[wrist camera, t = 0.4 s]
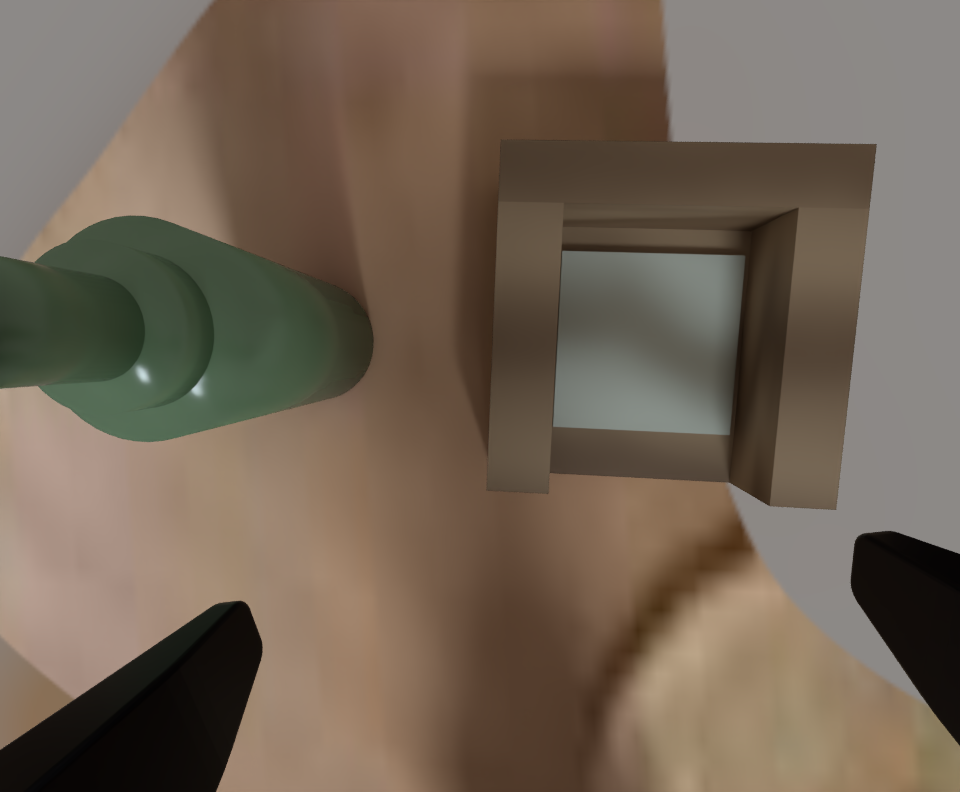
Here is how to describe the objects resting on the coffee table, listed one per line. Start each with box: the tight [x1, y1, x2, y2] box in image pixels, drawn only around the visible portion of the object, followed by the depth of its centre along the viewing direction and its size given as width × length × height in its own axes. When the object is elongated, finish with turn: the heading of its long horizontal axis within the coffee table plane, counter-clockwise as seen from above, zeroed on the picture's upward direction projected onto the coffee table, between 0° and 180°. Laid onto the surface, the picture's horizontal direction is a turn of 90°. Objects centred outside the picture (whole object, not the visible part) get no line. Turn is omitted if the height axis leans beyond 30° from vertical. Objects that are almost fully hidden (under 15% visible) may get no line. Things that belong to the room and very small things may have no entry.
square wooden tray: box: [487, 140, 876, 510], centre depth 18 cm, size 12×12×4 cm
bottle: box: [0, 216, 373, 442], centre depth 13 cm, size 5×5×15 cm
